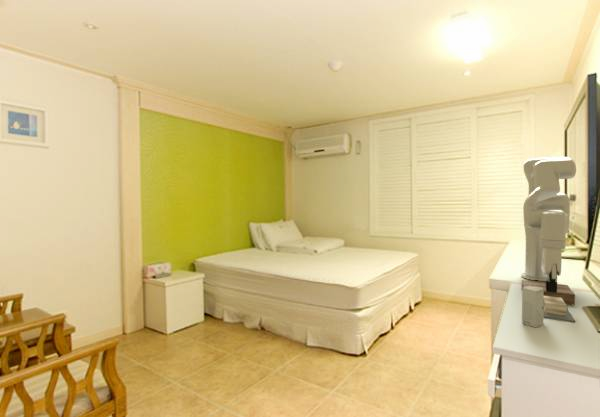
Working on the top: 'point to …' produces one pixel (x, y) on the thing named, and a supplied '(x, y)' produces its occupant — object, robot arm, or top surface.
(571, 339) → the top surface
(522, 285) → the step
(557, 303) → the beige rectangular block
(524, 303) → the skincare box
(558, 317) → the mat
